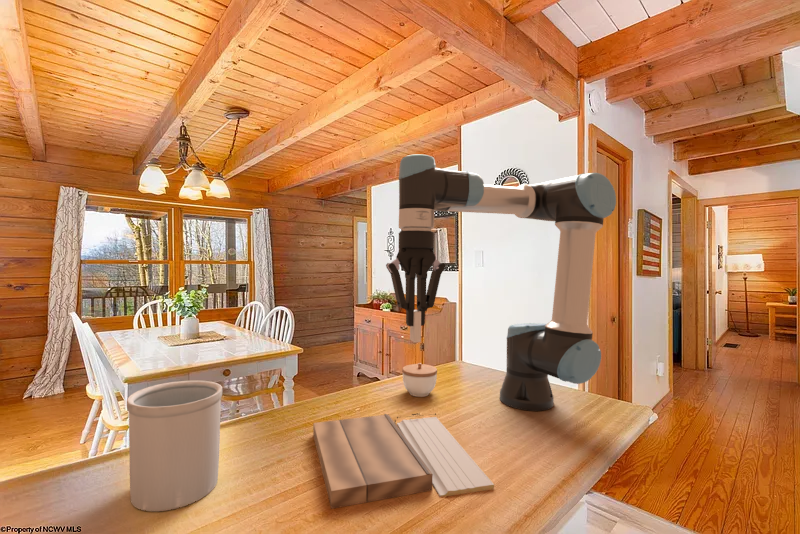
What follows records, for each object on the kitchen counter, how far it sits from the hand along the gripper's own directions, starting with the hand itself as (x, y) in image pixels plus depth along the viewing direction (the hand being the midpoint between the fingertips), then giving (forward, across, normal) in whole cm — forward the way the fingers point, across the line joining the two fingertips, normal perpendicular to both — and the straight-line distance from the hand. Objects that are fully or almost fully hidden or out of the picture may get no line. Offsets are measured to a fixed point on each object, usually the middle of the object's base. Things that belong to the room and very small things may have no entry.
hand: (415, 340), depth 85 cm
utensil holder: (+24, -46, +1) cm, 52 cm away
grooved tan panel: (+24, -11, 0) cm, 27 cm away
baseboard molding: (+25, +4, -1) cm, 26 cm away
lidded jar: (+25, +15, +34) cm, 45 cm away
